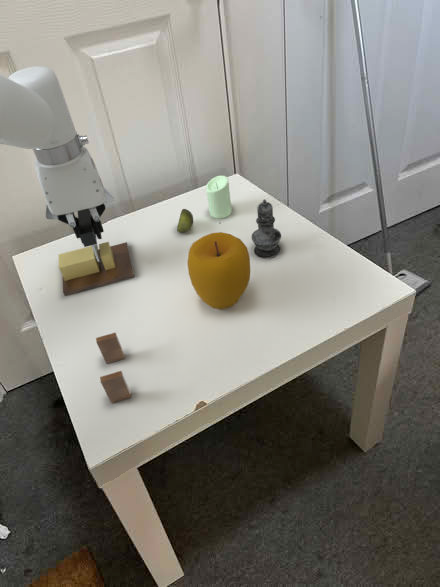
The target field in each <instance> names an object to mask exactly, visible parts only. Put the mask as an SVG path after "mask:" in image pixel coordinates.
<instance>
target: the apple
mask: <svg viewBox="0 0 440 587" xmlns="http://www.w3.org/2000/svg"><path fill="white" fill-rule="evenodd" d="M187 269H188V270H187V271H188V276H189V280H190V282H191V283H190V284H191V285H192V288H193V290H194V291H195V293H196V294H197V295H198V297H199V298H200V300H201V301H202V302H204V303H205V304H206V305H207V306H209V307H210V308H212V309H215V310H225V309H231V307H233V306H235V305H237V303H238V302H239V301H240V299H241V298H242V296H243V295H244V293H245V292H246V290H247V288H248V286H249V282H250V279H251V258H250V252H249V249H248V247H247V245H246V244H245V243H244V242H243V241H242V239H240V238H239V237H237V236H234V235H233V234H230V233H226V232H222V231H220V232H219V231H217V232H212V233H209V234H205V235H204V236H201V237H200V238H198V239H197V240H195V241H193V243H192V244H191V246H190V248H189V250H188V254H187Z"/></svg>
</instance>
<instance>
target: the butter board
mask: <svg viewBox="0 0 440 587" xmlns="http://www.w3.org/2000/svg"><path fill="white" fill-rule="evenodd" d="M110 247H111V250H112V253H113V257H114V263H115V268H113V269H109V270H105V267H104V265H103V262H102V259H101V256H100V249H99V248H98V253H99V260H100V261H99V262H98V263H99V271H100V272H97V273H93V274H90V275H86V276H82V277H78V278H74V279H71V280H67V281H65V280H64V278H63V276H62V278H61V279H62V293H63V295H64V297H65V296H69V295H73V294H78V293H80V292H84V291H88V290H92V289H95V288H99V287H104V286H107V285H111V284H114V283H118V282H122V281H125V280H129V279H133V278H136V277H135V273H134V272H135V271H134V267H133V263H132V258H131V254H130V249H129V244H128V242H127V241H126V242H122V243H118V244H114V245H110Z"/></svg>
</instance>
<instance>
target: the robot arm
mask: <svg viewBox="0 0 440 587" xmlns="http://www.w3.org/2000/svg"><path fill="white" fill-rule="evenodd" d="M89 143H90V142H89V138H88V136H87V134H86V135H80V134H79V133H78V131H77V130H76V127H75V124H74V121H73V118H72V116H71V113H70V110H69V107H68V104H67V101H66V98H65V96H64V92H63V90H62V87H61V84H60V81H59V78H58V76H57V74H56V72H55V71H54V70H53V69H51V68H50V67H47V66H39V65H35V66H29V67H25V68H22V69H18V70H17V71H15V72H13V73H11V74H10V75H9V76H8V77H6V76H4V75H2V74H0V145H6V146H10V147H16V148H20V149H26V150H32V151H33V153H34V155H35V158H34V168H35V172H36V175H37V179H38V182H39V185H40V188H41V192H42V195H43V198H44V200H45V203H46V207H45V218H46V219H47V220H53V221H59V222H62V223H64V224H66V225H68V226H69V227H70V228H72V229H73V232H74V234H75V237H76V239H79V240H80V242H81V244H82V245H83V242H82V240H81V237H80V233H79V222H78V216H76V214H75V212H78V211H80V210H84V209H88V208H89V210H90V213H91V218H92V224H93V227H94V230H95V232H96V238H97V240H103V237H102V233H104V232H105V230H104V227H103V224H102V221H101V217H102V215H103V214H104V212H105V210H106V209H107V208H109V207H110V206H111V205H113V204H114V203H115V197H114V196H113V194H111V193H110V192H109V191H108V189H106V187H104V185H103V181H102V179H101V175H100V173H99V171H98V168H97V166H96V164H95V162H94V159H93V157H92V156H91V153H90V151H89V149H88V148H87V147H86V145H88V144H89Z"/></svg>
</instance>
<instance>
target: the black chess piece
mask: <svg viewBox="0 0 440 587" xmlns="http://www.w3.org/2000/svg"><path fill="white" fill-rule="evenodd" d="M256 210H257V218H256V219H255V223H256V224H257V229H256V230H255V231H253V233H252V234H251V241H252V242H253V244H254V249H253V253H254V255H255V256H256V257H258V258H260V259H265V260H266V259H267V260H268V259H272V258H275V257H277V256H278V255H279V254H280V252H281V247H280V245H279V243H280V241H281V239H282V233H281V231H280V230H278V229H277V228H275V225H274V224H275V222H276V218H275V216H274V212H273V211H274V209H273V205H272V203H271V202H268V201H267V200H266V199H265V198H264V199H263V200H262V202H260V203H259V204H258V205H257V208H256Z"/></svg>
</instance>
